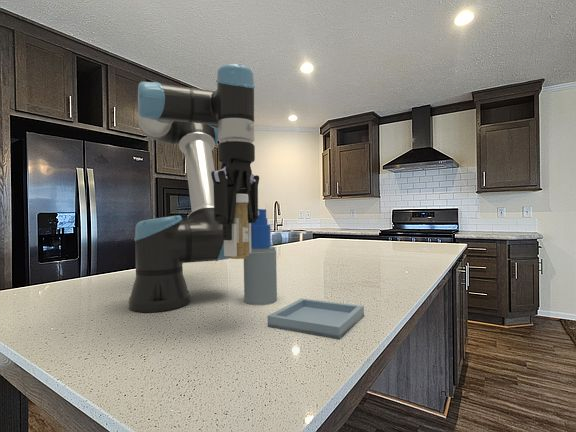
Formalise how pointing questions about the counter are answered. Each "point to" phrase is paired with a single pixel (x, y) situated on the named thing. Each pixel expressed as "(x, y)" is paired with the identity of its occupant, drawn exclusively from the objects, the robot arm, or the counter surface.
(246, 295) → the spray bottle
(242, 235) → the sprinkles bottle
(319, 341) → the counter surface
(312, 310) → the tray
